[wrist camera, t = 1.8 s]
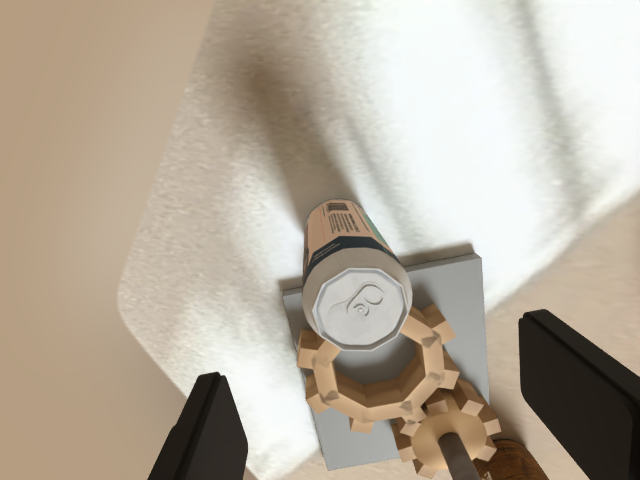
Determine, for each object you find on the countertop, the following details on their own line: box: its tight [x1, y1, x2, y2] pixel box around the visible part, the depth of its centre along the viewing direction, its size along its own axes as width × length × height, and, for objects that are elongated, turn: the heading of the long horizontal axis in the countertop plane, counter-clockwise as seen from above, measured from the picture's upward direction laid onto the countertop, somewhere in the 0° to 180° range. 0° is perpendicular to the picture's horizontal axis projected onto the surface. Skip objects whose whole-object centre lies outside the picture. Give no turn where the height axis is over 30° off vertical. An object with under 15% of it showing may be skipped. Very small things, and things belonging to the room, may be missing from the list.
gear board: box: [282, 253, 492, 471], centre depth 29 cm, size 18×15×1 cm
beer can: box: [302, 199, 412, 351], centre depth 20 cm, size 5×5×12 cm
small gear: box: [391, 378, 501, 480], centre depth 27 cm, size 8×8×6 cm
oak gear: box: [297, 303, 460, 434], centre depth 26 cm, size 12×12×2 cm
